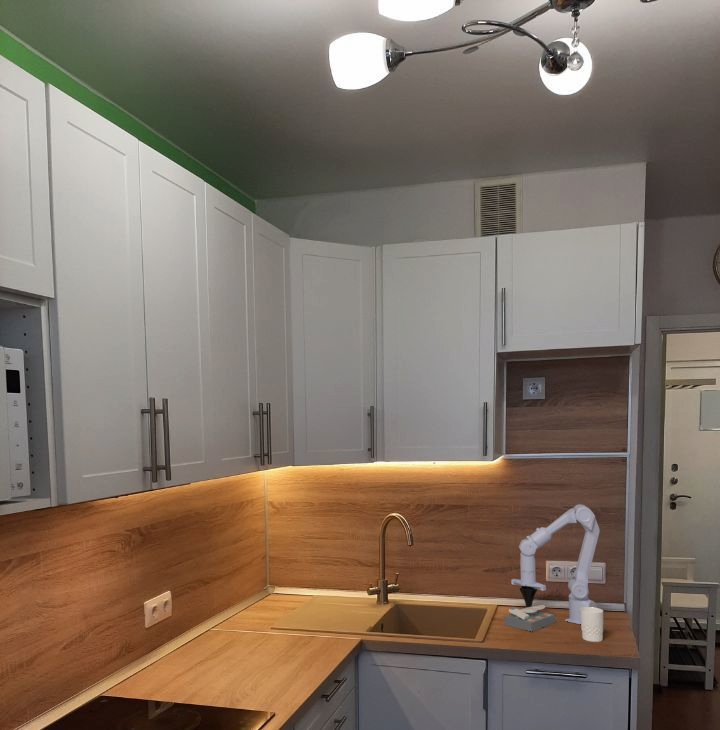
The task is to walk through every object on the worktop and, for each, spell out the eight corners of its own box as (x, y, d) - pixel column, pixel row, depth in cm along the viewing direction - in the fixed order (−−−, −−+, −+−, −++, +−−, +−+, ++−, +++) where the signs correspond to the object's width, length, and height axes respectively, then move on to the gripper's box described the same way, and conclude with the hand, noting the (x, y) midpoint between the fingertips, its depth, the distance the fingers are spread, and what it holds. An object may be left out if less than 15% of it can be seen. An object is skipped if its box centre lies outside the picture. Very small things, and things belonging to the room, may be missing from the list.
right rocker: (545, 607, 251) (544, 604, 251) (540, 609, 248) (539, 605, 249) (530, 609, 256) (529, 605, 256) (525, 611, 253) (524, 607, 254)
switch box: (555, 623, 248) (554, 613, 249) (531, 632, 237) (531, 621, 238) (528, 616, 257) (527, 606, 257) (504, 624, 246) (503, 614, 247)
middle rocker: (537, 610, 247) (537, 607, 248) (532, 612, 245) (531, 608, 245) (522, 611, 252) (521, 608, 252) (517, 613, 249) (516, 609, 250)
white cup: (576, 639, 230) (575, 609, 231) (587, 634, 235) (586, 605, 236) (598, 644, 224) (596, 614, 225) (608, 639, 229) (607, 609, 230)
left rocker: (529, 618, 243) (530, 614, 243) (523, 620, 241) (524, 616, 241) (513, 609, 249) (514, 606, 249) (508, 611, 246) (508, 608, 246)
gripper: (506, 569, 258) (507, 604, 257) (538, 575, 248) (539, 612, 246) (516, 566, 263) (517, 601, 262) (548, 572, 252) (549, 608, 251)
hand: (528, 606), depth 254 cm, fingers closed
